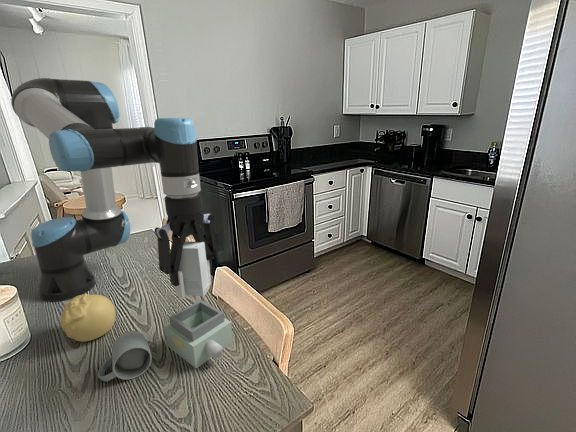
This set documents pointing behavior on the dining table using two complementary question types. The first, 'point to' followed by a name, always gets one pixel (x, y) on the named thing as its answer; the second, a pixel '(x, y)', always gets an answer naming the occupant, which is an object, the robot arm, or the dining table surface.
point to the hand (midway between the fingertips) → (194, 289)
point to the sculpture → (87, 317)
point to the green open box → (198, 333)
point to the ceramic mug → (127, 357)
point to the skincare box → (194, 268)
